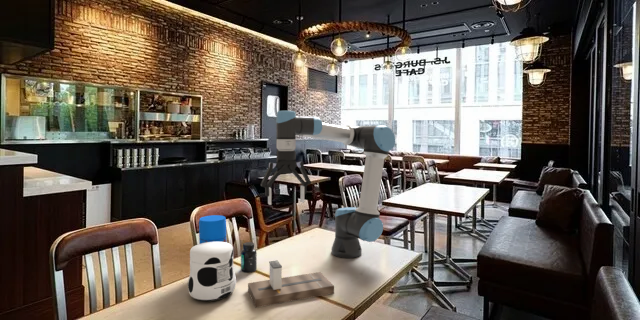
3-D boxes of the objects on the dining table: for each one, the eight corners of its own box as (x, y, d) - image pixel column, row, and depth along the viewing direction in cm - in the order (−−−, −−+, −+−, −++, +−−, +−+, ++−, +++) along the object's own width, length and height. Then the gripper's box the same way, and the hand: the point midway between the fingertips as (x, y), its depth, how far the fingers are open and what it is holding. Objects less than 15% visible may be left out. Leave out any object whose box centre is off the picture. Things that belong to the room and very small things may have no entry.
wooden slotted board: (320, 278, 148) (320, 271, 148) (333, 293, 135) (334, 285, 135) (248, 290, 137) (248, 282, 137) (255, 307, 124) (255, 299, 124)
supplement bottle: (241, 274, 153) (240, 246, 152) (240, 268, 159) (240, 241, 158) (257, 272, 154) (257, 245, 153) (255, 266, 161) (255, 240, 160)
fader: (277, 281, 137) (277, 260, 136) (281, 288, 131) (281, 266, 130) (269, 283, 136) (269, 261, 135) (273, 290, 130) (273, 267, 129)
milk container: (198, 283, 143) (197, 240, 141) (241, 284, 142) (240, 240, 141) (180, 305, 125) (178, 255, 124) (228, 306, 125) (227, 256, 123)
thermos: (219, 282, 144) (218, 222, 142) (195, 280, 146) (193, 220, 144) (231, 272, 155) (230, 215, 152) (208, 270, 157) (207, 214, 155)
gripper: (256, 151, 132) (257, 207, 134) (319, 150, 141) (318, 202, 143) (252, 150, 139) (253, 203, 141) (312, 149, 148) (312, 199, 150)
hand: (286, 203), depth 142 cm, fingers open, 13 cm apart
